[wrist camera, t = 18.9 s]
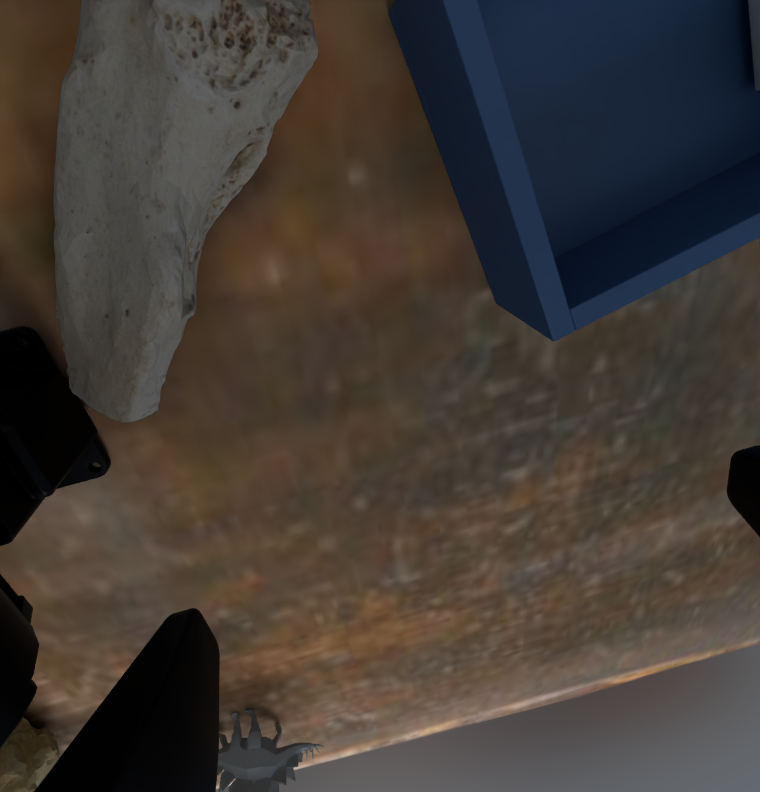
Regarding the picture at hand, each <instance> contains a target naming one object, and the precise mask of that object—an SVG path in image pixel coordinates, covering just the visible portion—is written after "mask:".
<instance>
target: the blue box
mask: <svg viewBox="0 0 760 792" xmlns="http://www.w3.org/2000/svg"><path fill="white" fill-rule="evenodd" d="M389 17H390V19H391V22H392V25H393V27H394V30H395V33H396V35H397V38H398V41H399V44H400V46H401V49H402V52H403V54H404V57H405V60H406V62H407V65H408V68H409V70H410V73H411V76H412V78H413V81H414V84H415V87H416V89H417V92H418V95H419V97H420V100H421V103H422V105H423V108H424V111H425V113H426V116H427V119H428V122H429V124H430V127H431V130H432V132H433V135H434V138H435V140H436V143H437V146H438V148H439V151H440V154H441V156H442V159H443V162H444V165H445V167H446V170H447V173H448V175H449V178H450V181H451V183H452V186H453V189H454V191H455V194H456V197H457V200H458V202H459V205H460V208H461V210H462V213H463V216H464V218H465V221H466V224H467V226H468V229H469V232H470V234H471V237H472V240H473V243H474V245H475V248H476V251H477V253H478V256H479V259H480V261H481V264H482V267H483V269H484V272H485V275H486V278H487V280H488V283H489V286H490V288H491V291H492V294H493V296H494V299H495V302H496V303H497V304H498V305H499V306H501V307H502V308H504V309H505V310H507V311H508V312H510V313H511V314H513V315H514V316H516V317H517V318H519V319H520V320H522V321H523V322H525V323H526V324H528V325H529V326H531V327H532V328H534V329H535V330H537V331H538V332H540V333H541V334H543V335H544V336H546V337H547V338H549V339H550V340H552V341H556V340H558V339H560V338H562V337H564V336H566V335H568V334H570V333H572V332H574V331H575V330H578V329H580V328H582V327H584V326H586V325H588V324H590V323H592V322H594V321H595V320H597V319H599V318H601V317H603V316H605V315H607V314H609V313H611V312H613V311H615V310H617V309H619V308H621V307H623V306H625V305H627V304H629V303H631V302H633V301H635V300H637V299H639V298H641V297H643V296H645V295H647V294H649V293H651V292H653V291H655V290H657V289H658V288H660V287H662V286H664V285H666V284H668V283H670V282H672V281H674V280H676V279H678V278H680V277H682V276H684V275H686V274H688V273H690V272H692V271H694V270H696V269H698V268H700V267H702V266H704V265H706V264H708V263H710V262H712V261H714V260H716V259H718V258H720V257H721V256H723V255H725V254H727V253H729V252H731V251H733V250H735V249H737V248H739V247H741V246H743V245H745V244H747V243H749V242H751V241H753V240H755V239H757V238H759V237H760V91H756V90H755V81H754V69H753V56H752V44H751V31H750V18H749V6H748V0H396V2H395V3H394V5H393V7H392V9H391V10H390V12H389Z"/></svg>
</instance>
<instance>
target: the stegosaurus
mask: <svg viewBox="0 0 760 792" xmlns="http://www.w3.org/2000/svg"><path fill="white" fill-rule="evenodd" d="M245 712H246V713H248V714H249V715H251V718H252V721H251V729H250V732H249V736H248V738H242V735H241V727H240V722H239V714H238V713H233V714H232V715H231V718H232V719H233V720H235V724H234V732H233V735H232V740H231V742H230V743H228V742H227V739H226V737H225V735H223V734H220V733H219V737H220V742H221V744H222V746H223V748H221V749H220V750H219V754H218V770H217V775H219V774H220V773H221V772H222V770H223V769H224V770H225V771H224V772H223V773H222V774H221V777H220V778H221V781H220V787H219V792H220V791H221V790H222V792H223V791H224V789H225V788H226V787H227V786H228V785H229V784H230V783H231V782H232V781H233V779H234V778H236V780H235V781H234V782H233V783H232V784H231V785H230V787H229V792H279V783H281V784H284V785H286V777H287V778H290V779H292V780H295V775H294V770H293V767H298V762H302V757H303V753H301V752H304V751H306V757H307V750H310V751H311V748H312V751H311V752H312V758H313V755H314V754H313V748H314V747H315V748H316V747H318V746H322V745H319V744H311V743H295V744H291V745H288V746H285V747H282V748H276V746H277V744H278V741H279V739H280V737H281V733H282V729H281V727H280V724H277V725H275V727H276V730H277V735H276V736H275V738H274V739H273V740H271V739H270V738H267V737H262V735H261V730H260V727H259V724H258V722H257V719H256V716H255V711H254V710H253V709H251V710H245ZM323 747H324V746H323ZM316 749H317V748H316ZM317 751H318V749H317ZM318 752H319V751H318Z"/></svg>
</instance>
